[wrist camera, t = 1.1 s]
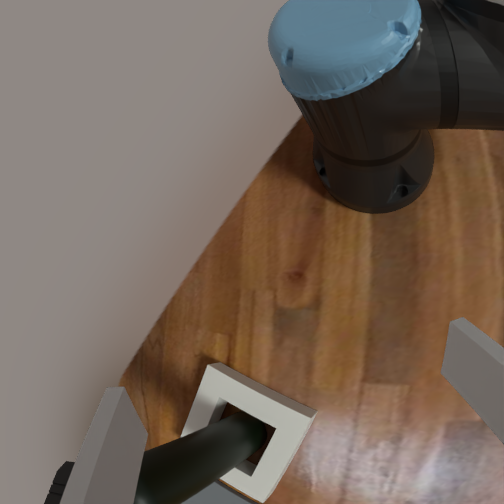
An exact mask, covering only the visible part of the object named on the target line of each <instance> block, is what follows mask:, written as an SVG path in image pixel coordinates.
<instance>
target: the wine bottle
mask: <svg viewBox="0 0 504 504" xmlns="http://www.w3.org/2000/svg"><path fill="white" fill-rule="evenodd" d="M266 438H267V431H266V427H265V425H264V423H263V422H262V421H261V420H259V419H258V418H256V417H254V416H252V415H250V414H248V413H247V412H245V411H242V412H237V413H234V414H232V415H230V416H228V417H226V418H224V419H222V420H220V421H218V422H215V423H213V424H211V425H209V426H207V427H204V428H202V429H200V430H197V431H195V432H193V433H190V434H188V435H186V436H183V437H181V438H178V439H176V440H173V441H171V442H168V443H166V444H163V445H161V446H158V447H155V448H153V449H150V450H147V451H145V452H144V454H143V459H142V463H141V468H140V473H139V478H138V483H137V488H136V493H135V498H134V503H133V504H181V503H183V502H185V501H186V500H188V499H189V498H191V497H192V496H194V495H196V494H197V493H199V492H200V491H202V490H203V489H205V488H206V487H208V486H209V485H211V484H212V483H214V482H215V481H216V480H218V479H219V478H221V477H222V476H224V475H225V474H226V473H228V472H229V471H231V470H232V469H233V468H235V467H236V466H237V465H239V464H240V463H241V462H243V461H244V460H245V459H247V458H248V457H249V456H251V455H252V454H253V453H254V452H256V451H257V450H258V449H259V448H261V447H262V446H263V445H264V443H265V441H266Z"/></svg>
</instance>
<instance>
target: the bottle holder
mask: <svg viewBox="0 0 504 504" xmlns="http://www.w3.org/2000/svg"><path fill="white" fill-rule="evenodd" d="M227 402H229V403H231V404H232V405H234V406H236V407H238V408H239V409H241V410H243V411H245V412H247V413H248V414H250V415H252V416H254V417H256V418H258V419H259V420H261V421H263V422H265V423H267V424H269V425H271V426H273V427H275V428H277V429H276V431H275V433H274V435H273V437H272V439H271V441H270V442H269V444H268V446H267V448H266V450H265V452H264V454H263V456H262V458H261V460H260V462H259V464H258V465H255V464H253V463H251V462H249V461H248V460H246V459H245V460H244V461H243V462H241V463H240V464H239V465H237V466H236V467H235V468H233V469H232V470H231V471H229V472H228V473H226V474H225V475H224V476H222V477H221V478H220V479H222V480H223V481H225V482H227V483H228V484H230V485H232V486H233V487H235V488H237V489H238V490H240V491H242V492H243V493H245V494H247V495H249V496H251V497H252V498H254V499H256V500H258V501H260V502H262V503H264V502H265V500H266V499H267V498H268V497H269V496H270V495H271V494H272V493H273V491H274V489H275V488H276V486H277V484H278V483H279V481H280V479H281V478H282V476H283V474H284V473H285V471H286V469H287V468H288V466H289V464H290V462H291V461H292V459H293V457H294V455H295V453H296V452H297V450H298V448H299V446H300V444H301V443H302V441H303V439H304V437H305V435H306V433H307V431H308V429H309V427H310V425H311V424H312V422H313V420H314V418H315V416H316V414H317V412H318V411H316V410H314V409H312V408H309V407H307V406H305V405H303V404H301V403H299V402H297V401H294V400H292V399H290V398H288V397H286V396H284V395H282V394H280V393H278V392H276V391H274V390H272V389H270V388H268V387H266V386H264V385H262V384H260V383H258V382H256V381H254V380H252V379H250V378H248V377H247V376H245V375H243V374H241V373H239V372H237V371H235V370H233V369H232V368H230V367H228V366H226V365H224V364H223V363H221V362H219V363H214V364H208V365H207V368H206V371H205V373H204V376H203V379H202V381H201V384H200V386H199V389H198V392H197V394H196V397H195V400H194V402H193V405H192V408H191V410H190V413H189V416H188V418H187V421H186V424H185V426H184V429H183V432H182V434H181V437H183V436H186V435H188V434H190V433H193V432H195V431H197V430H200V429H202V428H204V427H207V426H209V425H211V424H213V423H215V422H218V421H220V418H221V416H222V413H223V411H224V409H225V406H226V404H227ZM181 437H180V438H181Z"/></svg>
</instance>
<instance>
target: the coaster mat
mask: <svg viewBox="0 0 504 504" xmlns="http://www.w3.org/2000/svg"><path fill="white" fill-rule="evenodd" d="M181 504H258V503H256V502H254V501H252V500H251V499H249V498H247V497H245V496H243V495H242V494H240V493H238V492H237V491H235V490H233V489H231V488H230V487H228V486H227V485H225V484H223V483H222V482H220V481H218V480H216V481H215V482H214V483H212V484H211V485H209V486H208V487H206V488H205V489H203V490H202V491H200V492H199V493H197V494H196V495H194V496H192V497H191V498H189V499H188V500H186V501H185V502H183V503H181Z"/></svg>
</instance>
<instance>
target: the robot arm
mask: <svg viewBox="0 0 504 504" xmlns="http://www.w3.org/2000/svg"><path fill="white" fill-rule="evenodd" d="M268 46H269V51H270V54H271V56H272V58H273V60H274V62H275V64H276V66H277V67H278V70H279V73H280V77H281V79H282V83H283V85H284V86H285V87H286V89H287V90H288V91H289V92H290V93H291V95H292V97H293V98H294V100H295V102H296V103H297V105H298V107H299V109H300V110H301V112H302V114H303V116H304V118H305V119H306V121H307V123H308V125H309V127H310V128H311V130H312V132H313V134H314V142H313V160H314V165H315V168H316V171H317V174H318V176H319V178H320V179H321V181H322V183H323V185H324V186H325V188H326V189H327V191H328V192H329V193H330V194H331V195H332V196H333V197H334V198H335V199H336V200H338V201H339V202H340V203H342V204H343V205H345V206H347V207H349V208H351V209H354V210H357V211H360V212H365V213H388V212H392V211H396V210H399V209H401V208H403V207H405V206H407V205H409V204H410V203H412V202H413V201H414V200H416V199H417V198H418V197H419V196H420V195H421V194H422V192H423V191H424V190H425V188H426V187H427V185H428V183H429V180H430V178H431V175H432V170H433V164H434V147H433V142H432V139H431V136H430V134H429V132H428V130H427V129H479V130H501V131H504V0H289V1H288V2H286V3H285V4H284V5H283V6H282V7H281V8H280V10H279V11H278V12H277V14H276V15H275V17H274V19H273V21H272V23H271V26H270V29H269V34H268ZM441 374H442V375H443V376H444V377H445V378H446V379H447V380H448V382H449V383H450V384H451V385H452V386H453V387H454V388H455V389H456V390H457V391H458V393H459V394H460V395H461V396H462V397H463V398H464V399H465V400H466V401H467V403H468V404H469V405H470V406H471V407H472V408H473V409H474V410H475V412H476V413H477V414H478V415H479V416H480V417H481V418H482V420H483V421H484V422H485V423H486V424H487V425H488V427H489V428H490V429H491V430H492V431H493V432H494V434H495V435H496V436H497V437H498V438H499V440H500V441H501V442H502V443H503V444H504V348H503V347H502V346H500V345H499V344H498V343H497V342H495V341H494V340H493V339H491V338H490V337H489V336H488V335H486V334H485V333H484V332H482V331H481V330H480V329H478V328H477V327H476V326H474V325H473V324H472V323H470V322H469V321H468V320H466V319H465V318H464V317H461V318H459V319H456V320H453V321H451V322H450V325H449V332H448V338H447V344H446V349H445V354H444V360H443V364H442V369H441ZM147 436H148V433H147V431H146V430H145V428H144V426H143V424H142V422H141V420H140V418H139V416H138V414H137V412H136V410H135V408H134V406H133V404H132V402H131V400H130V398H129V396H128V394H127V392H126V390H125V387H107V389H106V391H105V393H104V395H103V397H102V400H101V402H100V404H99V406H98V409H97V411H96V413H95V415H94V418H93V420H92V423H91V425H90V427H89V430H88V432H87V434H86V437H85V439H84V441H83V444H82V446H81V449H80V451H79V454H78V456H77V459H76V461H75V462H68V461H66V462H65V463H64V464H63V465H62V466H61V467H60V469H59V470H58V471H57V473H56V475H55V478H54V480H53V485H51V488H50V490H49V494H48V495H47V498H46V500H45V503H44V504H133V503H134V498H135V493H136V488H137V483H138V478H139V473H140V468H141V463H142V459H143V454H144V450H145V445H146V441H147Z"/></svg>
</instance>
